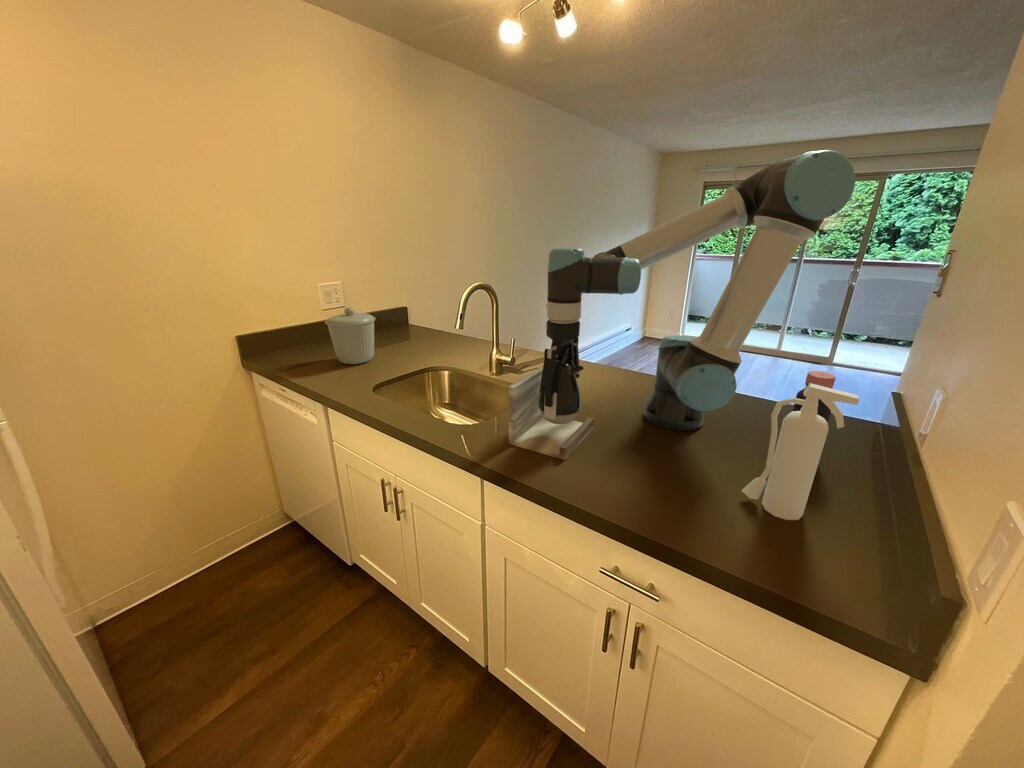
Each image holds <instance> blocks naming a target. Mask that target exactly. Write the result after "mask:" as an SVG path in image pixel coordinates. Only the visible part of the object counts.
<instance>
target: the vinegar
mask: <svg viewBox="0 0 1024 768" xmlns="http://www.w3.org/2000/svg"><path fill="white" fill-rule="evenodd" d="M835 381H836V376H835V374H832V373H829V372H825V371H818V370H811V371H808V372H807V375H806V377H805V386H806V387H805V388H803V389H801V390H799V391H798V392H797V393H796V395H795V398H797V399H804V400H806V398H807V396H804V394H803V392H804V390H805V389H806V388H807V386H808V385H809V383H811V384H815V385H819V386H823V387H827V388H832V389H833V387H834V385H835ZM802 406H803V405H801V404H795V403H793V407H792V411H801V408H802ZM792 411H791V412H792ZM831 414H832V412H831V410H830V409H829V407H828V406H827V405H825V404H824V403H823V402H822V401H821V400H820V399H819V400H818V410H817V415H819V416H821V417H823V418H824V419H825V420H826V421H827V424H828V425H829V422H830V417H831Z"/></svg>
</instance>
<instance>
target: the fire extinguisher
mask: <svg viewBox="0 0 1024 768" xmlns="http://www.w3.org/2000/svg"><path fill="white" fill-rule="evenodd" d="M805 388H806V387H805ZM803 394H804V396H807V398H806V400H804V399H797V398H796V397H791V398H787V399H783V400H780V401H779V400H778V401H777V402H776V403H775V405H774V408H773V409H772V412H771V415H770V426H771V427H770V431H771V433H770V437H769V444H768V451H767V457H766V461H765V462H766V464H765V467H764V471H763V472H762V473H761V475H760V476H759V477H755V478H753V480H751V481H750V482H749V483H748V484H747V485H746V486H744V487H743V488H742V490H741V492H742V493H744V495H745V496H746V497H748V498H749V499H751V500H759V498H760V497H761V495H762V492H763V491H764V494H763V497H762V500H761V501H762V502H761V505H762V506H763V509H764V510H765V511H766V512H768V513H769V514H771V515H772V516H773V517H777V518H779V519H783V520H785V521H798V520H800V519H801V518H802V517H803V516H804V512H805V509H806V506H807V503H808V499H809V496H810V492H811V488H812V486H813V482H814V480H815V477H816V473H817V470H818V469H817V468H818V466H819V463H820V461H821V460H820V459H821V456H822V452H823V449H824V445H825V443H826V440H827V435H828V433H829V430H830V429H829V423H828V424H827V421H826V420H825V419H824V418H823V417H821V416H819V415H817V410H818V400H819V399H820V400H821V401H822V402H823V403H824V404H825V405H827V406H828V407H829V409H830V410H831V414H832V415H833V417H835V422H836V423H835V424H836V429H841V428H844V427H845V422H844V421H845V420H844V413H843V411H842V410H841V408H840V407H839V405H838V403H844V404H851V405H855V406H856V405H858V404H859V402H860V401H859V400H860V398H859V395H858V394H855V393H851V392H847V391H844V390H843V391H842V390H839V389H835V388H833V387H832V388H827V387H823V386H819V385H815V384H811V383H809V385H808V386H807V388H806V389H805V390H804V392H803ZM836 402H837V403H836ZM794 403H795V404H801V405H803V406H802V408H801V411H791V412H789V413H788V414H787V415H786V416H785V417H784V418H783V419H782V423H781V427H780V431H779V430H778V429H779V428H778V416H779V413H780V411H781V409H782V407H783V406H786V405H791V404H794ZM778 433H779V435H778ZM777 437H778V438H777ZM767 478H768V479H767ZM766 479H767V480H766ZM764 488H765V490H764Z"/></svg>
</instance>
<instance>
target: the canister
mask: <svg viewBox="0 0 1024 768" xmlns="http://www.w3.org/2000/svg"><path fill="white" fill-rule="evenodd" d="M343 311H344V313H338V314H334V315H332V316H330V317H328V319H326V320H325V321H324V323H325V324H326V325H327V328H328V331H329V332H328V333H329V335H330V339H331V342H332V346H333V349H334V353H335V355H336V358H337V360H338V361H339V362H340V363H341V364H343V365H345V364H346V365H359V364H364V363H367V362H370V361H372V359H373V357H374V355H375V321H376V317H375V315H372V314H369V313H365V312H355V309H354V308H353V307H349V306H348V307H346V308H344V310H343Z"/></svg>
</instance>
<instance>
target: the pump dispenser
mask: <svg viewBox="0 0 1024 768" xmlns="http://www.w3.org/2000/svg"><path fill="white" fill-rule="evenodd" d="M584 369H585V368H584V365H579V366H578V367H574V368H572V367H571V366H570V365H569V364H568V363H567V362H565V363H564V365H563V366H562V367H561V370H560V374H559V378H558V382H557V386H556V390H555V392H556V393H557V402H556V419H555V420H553V419H549V418H545V417H544V402H545V393H542V392H540V395H539V409H540V411H541V414H542V416H543V417H544V418H545V419H546V420H547V421H549V422H551V423H554V424H566V423H569V422H571V421H572V420H573V421H575V418H577V415H578V413H579V412H580V410H581V405H582V404H581V403H582V401H581V393H580V391H581V390H580V387H579V381H578V378H576V376H575V373H576V372H579V373H580V372H582V371H583V370H584Z"/></svg>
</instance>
